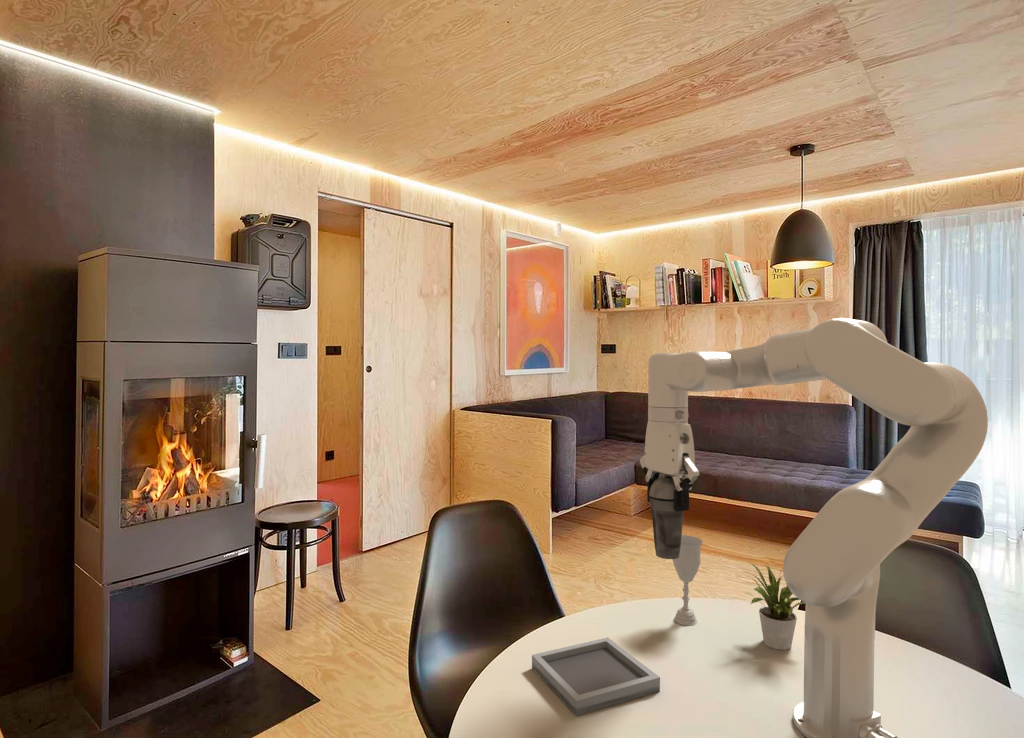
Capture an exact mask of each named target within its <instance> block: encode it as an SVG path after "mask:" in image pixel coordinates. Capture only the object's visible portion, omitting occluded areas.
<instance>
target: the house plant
mask: <svg viewBox="0 0 1024 738" xmlns="http://www.w3.org/2000/svg"><path fill="white" fill-rule="evenodd" d="M744 561H746V562H747V563H749V564H751V566H752V567H754V568H755V570H756V571H757V574H758V575H759V577H760V578H758V577H757V575H754V574H752V573H749V572H745V571H743V572H741V573H744V574H748V576H747V575H746V577H747V578H751V579H752V580H753V581H754V582H755V583H756V584H757V586H756V587H754V588H753V591H756V592H757V593H758V594H760V595H761V596H762V598H761V597H754V595H753V594H751V593H748V592H745V594H747V595H748V594H749V595H751V596H752V597H754V598H752V599H751V602H750V605H753V604H755V603H758V602H760V604H761V605H762V606H763V607H760V608H759V610H758V614H759V620H760V627H761V632H762V633H761V634H762V639H763V643H764V645H766V646H768V647H769V648H772V649H774V650H778V649H780V650H779V651H786V649H788V650H790V649H791V648H792V645H793V639H794V635H795V629H796V624H797V615H796V614H795V613H794V612H793V610H794V608H796V607H797V606H800V605H803V604H805V603H804V602H803V601H801V600H800V599H798V598H797V597H796V596H795V597H791V596H792V595H794V594H793V593H792V592H791V591H790V589H789V588H788V586H787V585H786V587H785V586H784V587H781V589H780V583H781V580H782V578H784V575H782V576H781V573H782V571H783V567H782V568H781V569H780V572H779V576H778V577H779V578H778V579H777V580H776V577H775V574H774V573H773V571H772V570H771V568H770V567H769V565H768V564H767V563H765V564H764V565H765V568H766V569H767V575H768V580H769V584H768V583H767V582H766V580H765V578H764V575H763V573H762V571H761V570H760V569H759V568H758V566H757V565H755V564H754V563H752V562H751V561H748V560H744ZM749 575H751V576H753V577H755V578H756V579H757V580H758V581H759V582H760V583H761V585H762V587H761V586H760V585H759V583H758V582H757V580H755V579H754V578H753V577H751V576H749ZM779 590H780V591H779ZM779 592H780V593H779ZM761 601H764V602H765V603H766V604H767V606H765V604H763V603H762V602H761ZM795 601H800V602H798V603H796V604H794V605H793V606H791V605H792V603H793V602H795ZM781 649H782V650H781Z"/></svg>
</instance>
